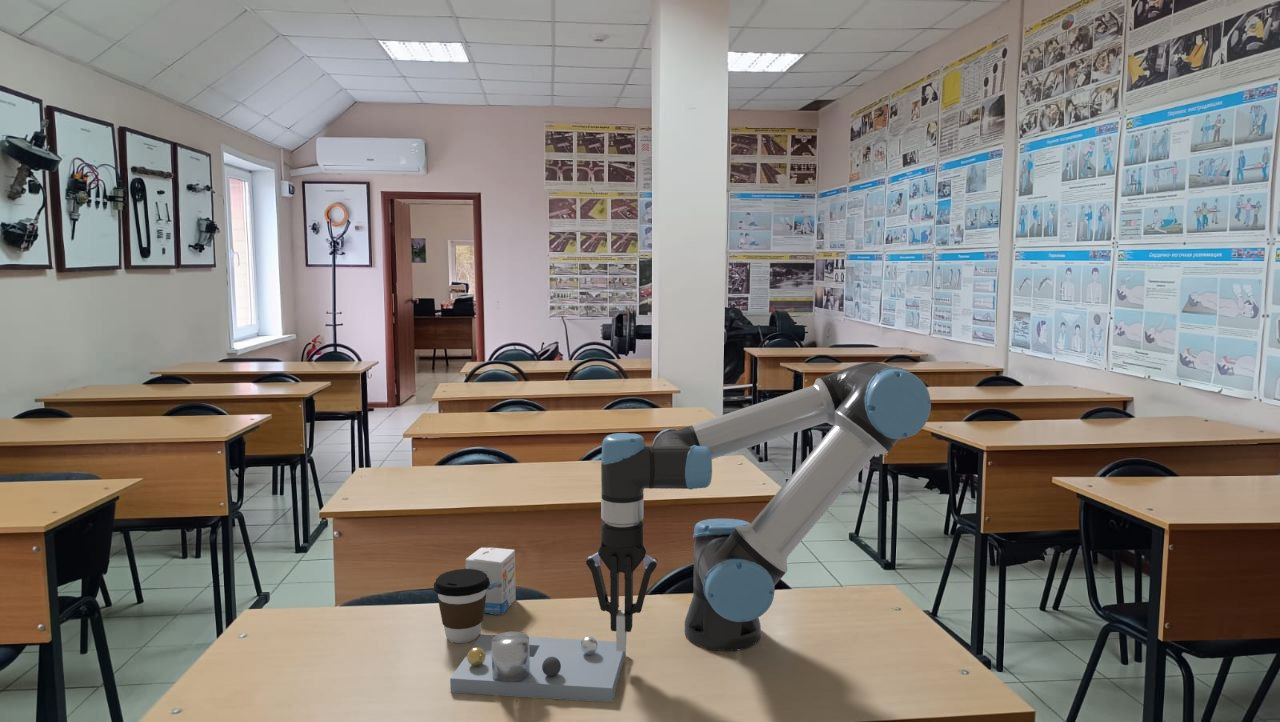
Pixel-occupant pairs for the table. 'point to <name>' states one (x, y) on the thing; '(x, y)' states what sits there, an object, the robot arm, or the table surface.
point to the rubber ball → (551, 666)
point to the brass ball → (476, 656)
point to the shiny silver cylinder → (510, 656)
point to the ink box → (496, 576)
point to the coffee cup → (462, 603)
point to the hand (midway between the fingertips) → (621, 647)
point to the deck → (573, 681)
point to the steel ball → (589, 645)
